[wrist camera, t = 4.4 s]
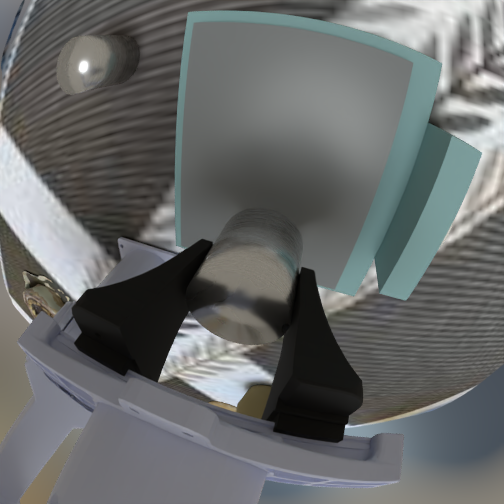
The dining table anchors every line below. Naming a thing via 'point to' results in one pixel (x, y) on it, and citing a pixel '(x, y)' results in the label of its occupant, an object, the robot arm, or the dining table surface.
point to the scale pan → (287, 133)
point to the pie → (41, 298)
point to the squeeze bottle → (254, 401)
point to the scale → (395, 173)
